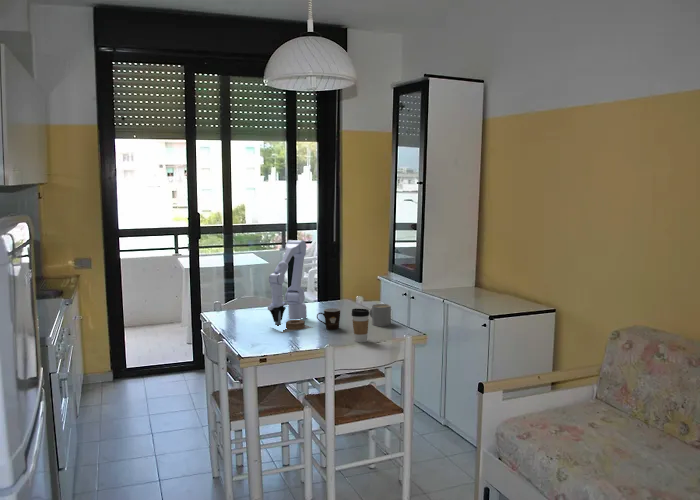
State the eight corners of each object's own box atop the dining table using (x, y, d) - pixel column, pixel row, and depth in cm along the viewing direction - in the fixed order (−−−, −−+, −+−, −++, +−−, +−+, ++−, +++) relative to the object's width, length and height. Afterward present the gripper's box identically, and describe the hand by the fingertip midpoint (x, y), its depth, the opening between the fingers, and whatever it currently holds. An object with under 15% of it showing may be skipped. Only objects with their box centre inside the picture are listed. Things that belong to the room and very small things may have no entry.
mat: (296, 321, 314) (296, 321, 314) (312, 328, 299) (312, 327, 299) (266, 326, 304) (266, 326, 304) (282, 333, 289) (282, 332, 289)
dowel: (279, 324, 307) (278, 309, 307) (281, 325, 305) (281, 310, 304) (274, 325, 306) (273, 310, 305) (276, 326, 303) (276, 311, 302)
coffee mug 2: (394, 324, 303) (394, 306, 302) (378, 327, 298) (378, 308, 297) (380, 320, 314) (380, 302, 313) (365, 322, 309) (364, 304, 308)
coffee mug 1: (343, 327, 299) (342, 308, 298) (337, 331, 291) (337, 312, 290) (322, 326, 303) (322, 307, 301) (316, 330, 294) (315, 310, 293)
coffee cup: (351, 338, 276) (350, 307, 274) (368, 337, 277) (368, 307, 275) (352, 343, 268) (352, 311, 266) (370, 342, 268) (370, 310, 267)
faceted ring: (298, 324, 306) (298, 319, 306) (307, 327, 299) (307, 322, 298) (283, 327, 301) (283, 321, 301) (292, 330, 294) (291, 324, 293)
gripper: (278, 293, 312) (279, 317, 313) (262, 297, 299) (263, 323, 301) (289, 293, 309) (290, 318, 310) (273, 298, 296) (274, 324, 297)
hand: (277, 321), depth 305 cm, fingers closed on dowel, 3 cm apart
